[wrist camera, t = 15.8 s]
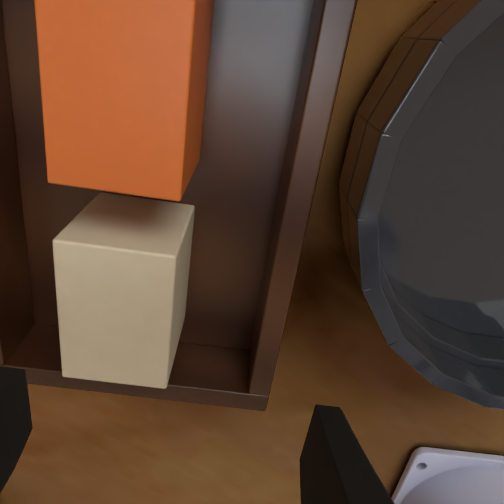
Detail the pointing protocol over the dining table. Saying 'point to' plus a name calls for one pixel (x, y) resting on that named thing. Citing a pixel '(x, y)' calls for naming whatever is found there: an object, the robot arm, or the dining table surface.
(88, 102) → the orange rectangular block
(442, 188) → the bowl
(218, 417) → the dining table surface
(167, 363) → the block
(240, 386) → the holder
